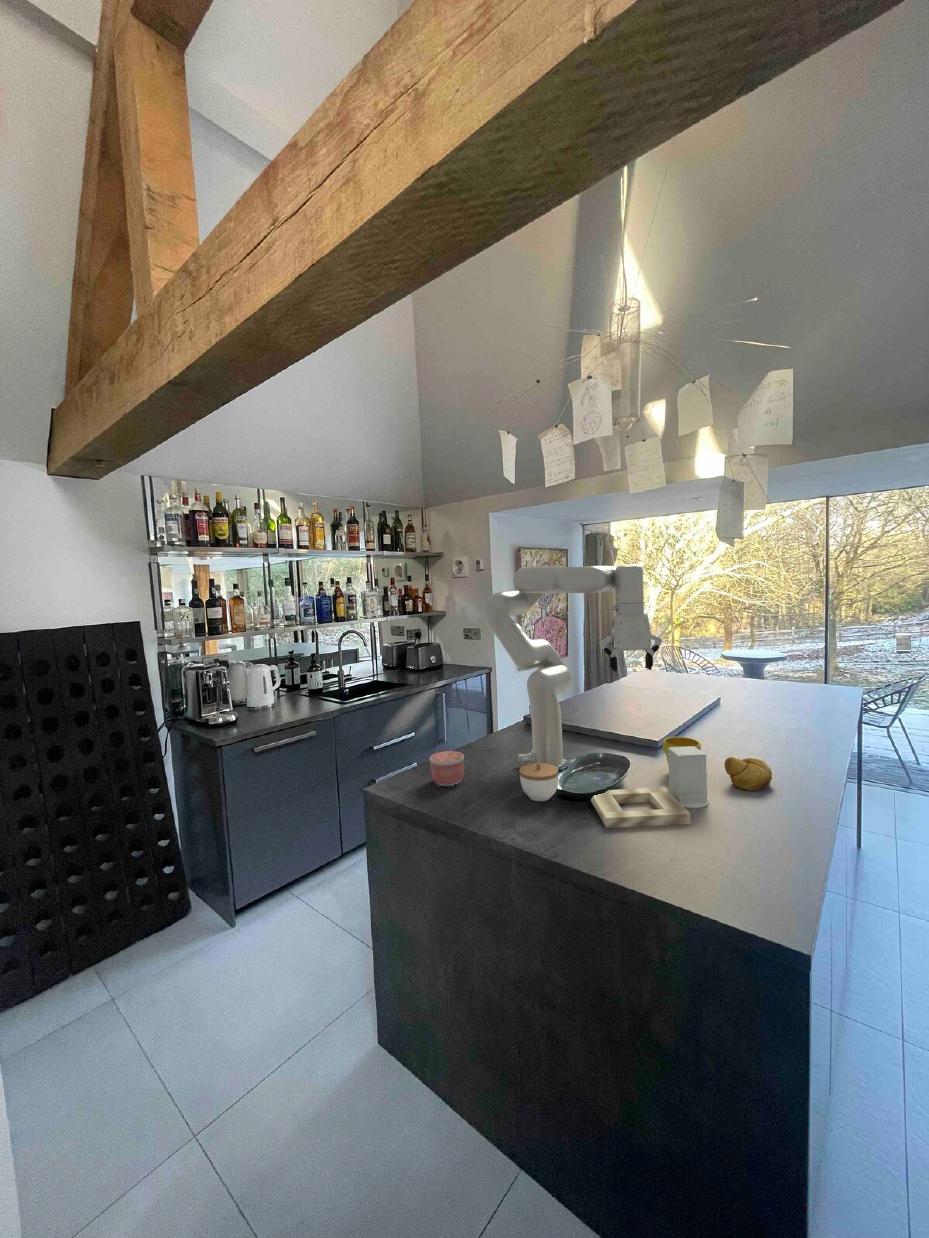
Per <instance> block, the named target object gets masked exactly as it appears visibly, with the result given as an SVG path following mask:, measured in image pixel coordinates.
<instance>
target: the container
mask: <svg viewBox="0 0 929 1238" xmlns="http://www.w3.org/2000/svg"><path fill="white" fill-rule="evenodd" d="M464 760H465V754H464V753H462V752H460V751H453V750H445V751H440V752H436V753H433V754H431V755H430V756H429V762H430V771H431V777H432V780H433V781H434V783H435V784H436V783H437V784H440V785H454V784H458V783H459V782H460V781H461V782H462V780H463V778H464V774H465V773H464V768H465V766H464ZM461 782H460V783H461ZM458 785H459V784H458Z"/></svg>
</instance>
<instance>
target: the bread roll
mask: <svg viewBox="0 0 929 1238" xmlns="http://www.w3.org/2000/svg"><path fill="white" fill-rule="evenodd" d="M723 763H724V770H725V772H726V774H728V776H729V778H730V781H731V783H732V785H734V786H735V787H736V788H739V789H742V790H747V791H756V790H758V791H759V790H760V789H762V788H765V787H767V786H769V785H770V784H771V781H772V780H773V777H772V775H773V773H772V770H771V768H770V766H768V764H767V763H766V762H765V761H763V760H761V759H758V758H752V757H750V758H743V759H739V758H735V757H732V756H731V757H727V758H726V759H725V761H724V762H723Z"/></svg>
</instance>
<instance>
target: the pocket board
mask: <svg viewBox="0 0 929 1238" xmlns="http://www.w3.org/2000/svg"><path fill="white" fill-rule="evenodd" d="M607 790H608V791H606V792H605V793H602V794H598V795H594V796H593V797H592V798H591V800H590V802H591V804H592V806H593V807H594V809H595V811H596V812H597V813H596V814H597V815H598V816H599V818H600V820H601V821H602V823H603V825H604V826H605V829H615V828H617V829H618V828H619V829H620V828H635V827H653V826H656V827H657V826H658V827H659V826H673V825H675V826H676V825H691V812H689V810H687V809H686V808H685V807H683V806H682V805H681V804H680V803H679V802H678V801H677V800H676V799H675V798H674V797H673V795H672V794H671V793H670V792H669V789H667V788H666V787H665V786H660V787H643V788H626V789H625V788H623V789H607ZM633 803H634V804H635V803H650V804H651V805H652V806H653V807H654V808H655V809H645V810H643V809H642V810H627V811H626V810H625V811H624V810H623V809H622V808H621V806H620V804H633Z"/></svg>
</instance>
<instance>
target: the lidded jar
mask: <svg viewBox="0 0 929 1238" xmlns="http://www.w3.org/2000/svg"><path fill="white" fill-rule="evenodd" d="M518 771H519V780H520V784H521V788H522V790H523V792H524V794H525V795H526V796H527V797H528V798H529V799H530V800H532V801H535V802H546V801H549V800H550V799H551V798H552V796H553V795H554V794H555V793H556V792H557V790H558V786H559V772H558V768H557V767H556V766H554V765H551V764H547V763H531V764H529V763H527V764H524V765H522V766H521V767H520V768H519V770H518Z"/></svg>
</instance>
